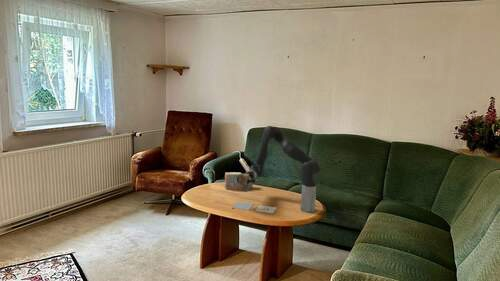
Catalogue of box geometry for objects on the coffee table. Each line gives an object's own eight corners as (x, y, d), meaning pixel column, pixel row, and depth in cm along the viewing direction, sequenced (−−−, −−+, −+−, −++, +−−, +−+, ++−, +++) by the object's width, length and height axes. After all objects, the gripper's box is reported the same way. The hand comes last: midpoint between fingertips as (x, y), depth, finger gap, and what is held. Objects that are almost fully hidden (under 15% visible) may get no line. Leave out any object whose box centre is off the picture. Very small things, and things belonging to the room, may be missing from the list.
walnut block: (248, 189, 250) (249, 174, 248) (246, 192, 245) (247, 175, 243) (241, 188, 252) (241, 173, 250) (238, 191, 246) (239, 175, 245)
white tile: (276, 208, 250) (276, 207, 249) (272, 214, 238) (272, 213, 238) (259, 206, 253) (259, 205, 253) (254, 211, 241) (255, 210, 241)
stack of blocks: (250, 186, 299) (251, 171, 298) (252, 189, 293) (253, 173, 292) (224, 187, 295) (225, 172, 293) (225, 189, 289) (226, 174, 287)
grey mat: (254, 205, 254) (254, 204, 254) (249, 210, 242) (249, 209, 242) (237, 203, 257) (237, 202, 257) (231, 208, 246) (231, 207, 246)
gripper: (240, 169, 262) (232, 175, 246) (260, 172, 258) (253, 177, 242) (240, 180, 263) (232, 186, 247) (259, 182, 259) (253, 188, 243)
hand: (242, 182), depth 245 cm, fingers closed on walnut block, 5 cm apart
